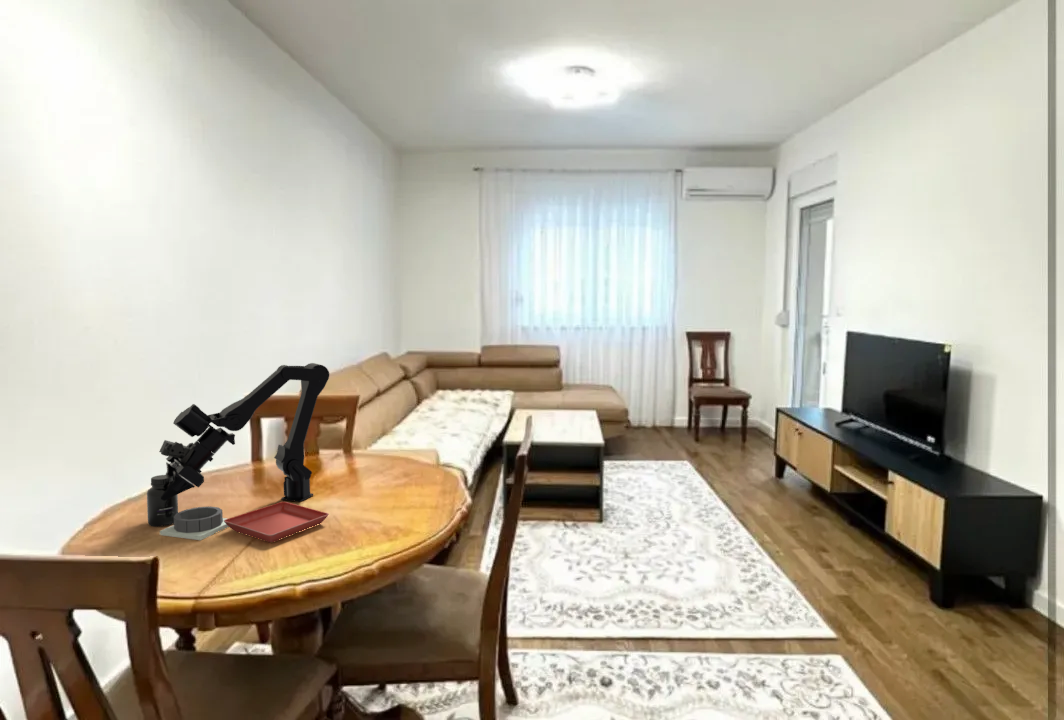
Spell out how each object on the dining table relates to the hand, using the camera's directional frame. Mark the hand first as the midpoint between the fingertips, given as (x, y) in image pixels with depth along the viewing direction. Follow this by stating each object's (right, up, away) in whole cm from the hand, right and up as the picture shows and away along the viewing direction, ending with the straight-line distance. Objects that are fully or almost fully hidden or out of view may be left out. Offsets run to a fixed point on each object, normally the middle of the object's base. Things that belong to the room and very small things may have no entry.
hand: (159, 496), depth 165 cm
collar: (+12, -8, -3) cm, 14 cm away
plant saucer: (+31, -8, -2) cm, 32 cm away
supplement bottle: (0, -7, +1) cm, 7 cm away
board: (+12, -8, -3) cm, 14 cm away
